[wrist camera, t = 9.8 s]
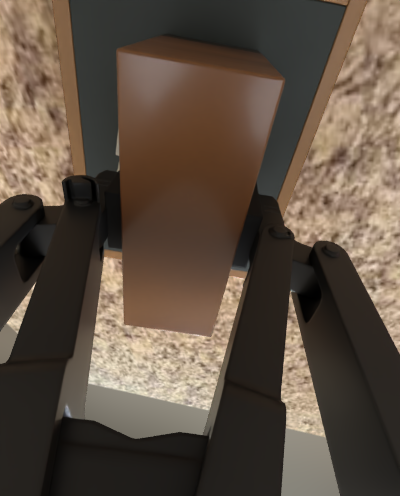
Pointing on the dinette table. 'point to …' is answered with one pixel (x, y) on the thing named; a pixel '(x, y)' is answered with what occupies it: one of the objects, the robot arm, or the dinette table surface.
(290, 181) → the chalkboard
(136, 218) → the eraser
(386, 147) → the dinette table surface
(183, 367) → the dinette table surface
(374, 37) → the dinette table surface
